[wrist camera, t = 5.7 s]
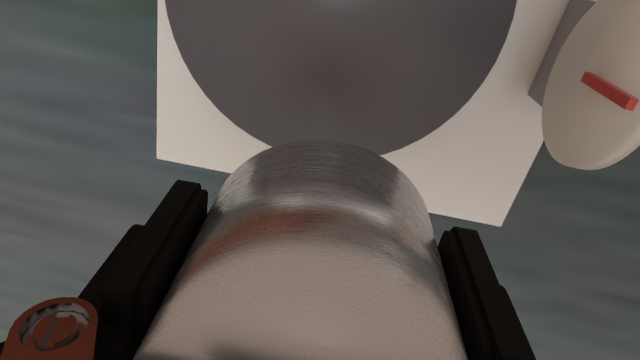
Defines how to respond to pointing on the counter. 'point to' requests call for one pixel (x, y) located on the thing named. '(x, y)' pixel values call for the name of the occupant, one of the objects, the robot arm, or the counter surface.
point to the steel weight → (310, 266)
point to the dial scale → (404, 87)
